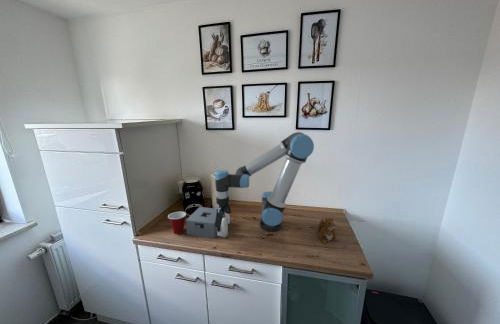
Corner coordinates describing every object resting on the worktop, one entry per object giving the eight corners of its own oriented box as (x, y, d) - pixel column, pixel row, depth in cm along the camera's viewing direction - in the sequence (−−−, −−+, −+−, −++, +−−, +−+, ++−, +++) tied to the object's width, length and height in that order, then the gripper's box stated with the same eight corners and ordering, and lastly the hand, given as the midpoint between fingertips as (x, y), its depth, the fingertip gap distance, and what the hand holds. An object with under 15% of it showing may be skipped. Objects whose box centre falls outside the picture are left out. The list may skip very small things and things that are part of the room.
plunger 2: (215, 212, 138) (215, 209, 138) (210, 219, 130) (210, 215, 129) (210, 211, 139) (209, 208, 139) (204, 218, 131) (204, 215, 130)
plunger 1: (208, 221, 127) (208, 218, 126) (201, 229, 118) (201, 226, 118) (201, 221, 128) (201, 217, 127) (195, 228, 119) (194, 225, 119)
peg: (228, 234, 124) (228, 218, 121) (226, 238, 120) (225, 221, 117) (222, 233, 125) (221, 217, 122) (219, 237, 121) (218, 221, 118)
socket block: (224, 222, 137) (224, 209, 134) (214, 238, 120) (213, 223, 117) (200, 219, 141) (199, 206, 138) (187, 234, 124) (185, 220, 121)
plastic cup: (190, 226, 132) (188, 210, 129) (184, 236, 122) (182, 219, 119) (174, 226, 133) (172, 210, 130) (166, 236, 122) (164, 218, 120)
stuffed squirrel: (324, 245, 113) (325, 224, 110) (311, 231, 126) (313, 212, 123) (339, 242, 115) (342, 222, 112) (326, 229, 128) (327, 210, 125)
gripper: (224, 188, 129) (225, 218, 134) (207, 205, 105) (209, 240, 110) (235, 189, 127) (235, 219, 132) (220, 206, 104) (222, 242, 109)
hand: (223, 229), depth 121 cm, fingers open, 13 cm apart
